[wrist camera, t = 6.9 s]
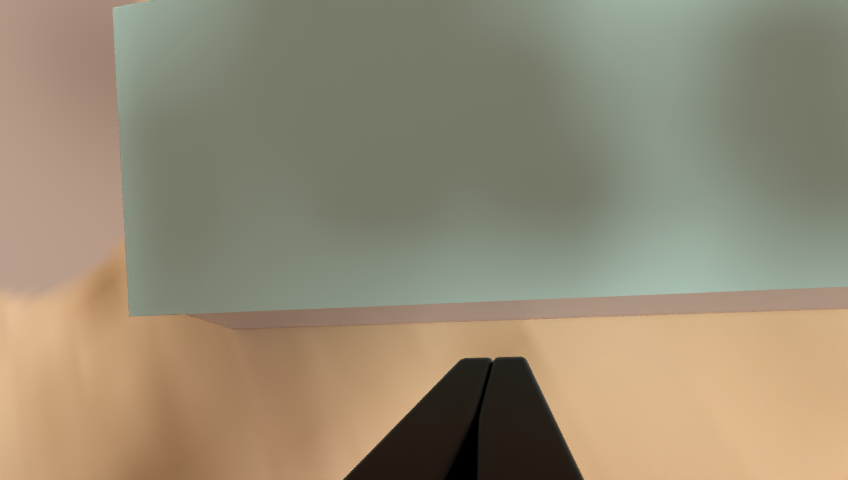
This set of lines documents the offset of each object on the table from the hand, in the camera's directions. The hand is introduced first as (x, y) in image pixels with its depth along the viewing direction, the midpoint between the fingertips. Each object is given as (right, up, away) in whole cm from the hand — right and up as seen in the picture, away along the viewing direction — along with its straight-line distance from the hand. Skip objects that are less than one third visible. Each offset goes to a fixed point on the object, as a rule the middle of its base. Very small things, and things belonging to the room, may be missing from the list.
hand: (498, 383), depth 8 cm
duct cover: (+2, +5, +8) cm, 10 cm away
